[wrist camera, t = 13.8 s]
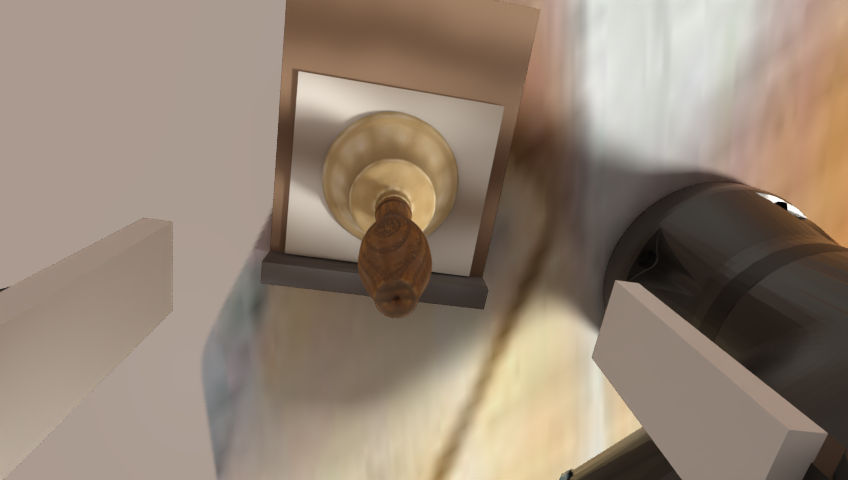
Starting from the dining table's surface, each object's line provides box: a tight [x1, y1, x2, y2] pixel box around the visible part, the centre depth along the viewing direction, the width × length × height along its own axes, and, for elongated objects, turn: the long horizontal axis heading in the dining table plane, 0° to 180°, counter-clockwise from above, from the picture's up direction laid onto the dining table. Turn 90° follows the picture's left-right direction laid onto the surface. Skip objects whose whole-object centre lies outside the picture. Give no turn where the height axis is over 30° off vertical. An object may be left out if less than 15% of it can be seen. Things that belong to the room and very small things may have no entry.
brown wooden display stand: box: [261, 0, 541, 309], centre depth 29 cm, size 18×14×5 cm
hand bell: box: [322, 112, 459, 318], centre depth 21 cm, size 8×8×16 cm
